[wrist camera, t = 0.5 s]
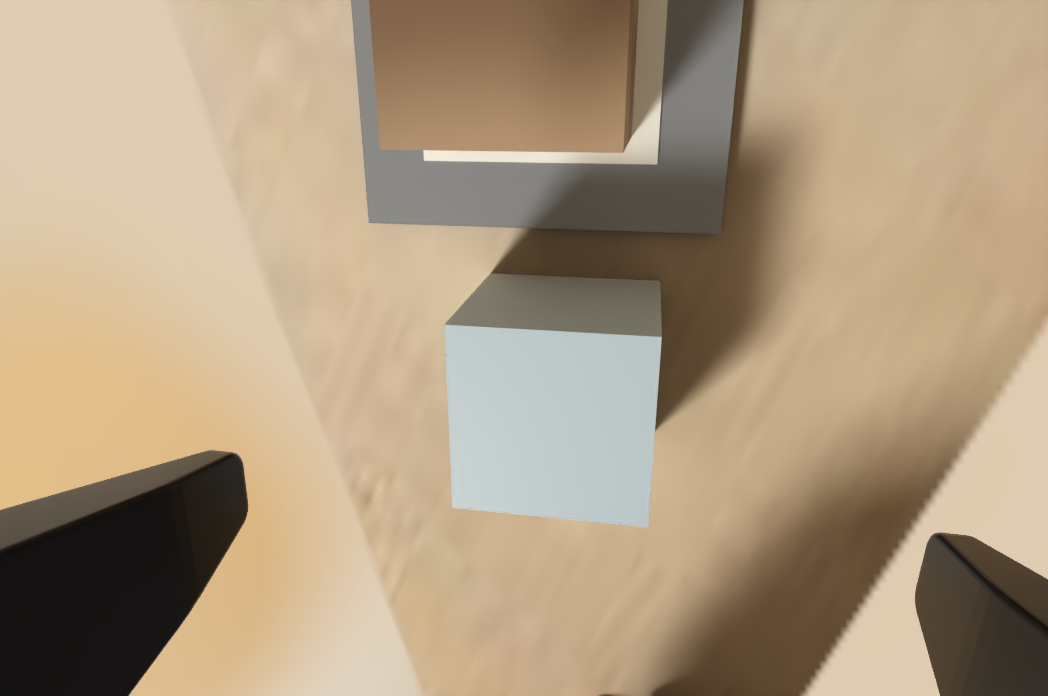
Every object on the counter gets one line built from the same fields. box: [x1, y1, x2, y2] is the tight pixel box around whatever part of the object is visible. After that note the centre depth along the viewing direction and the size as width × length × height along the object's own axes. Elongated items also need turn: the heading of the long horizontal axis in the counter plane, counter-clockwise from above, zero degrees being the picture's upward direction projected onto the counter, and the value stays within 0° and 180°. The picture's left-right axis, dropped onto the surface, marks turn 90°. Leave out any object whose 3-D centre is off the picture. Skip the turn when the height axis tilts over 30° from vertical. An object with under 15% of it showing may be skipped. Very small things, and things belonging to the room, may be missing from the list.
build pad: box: [351, 0, 744, 234], centre depth 18 cm, size 10×10×1 cm
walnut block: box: [369, 0, 639, 153], centre depth 15 cm, size 5×5×5 cm
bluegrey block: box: [445, 273, 662, 527], centre depth 19 cm, size 5×5×5 cm
